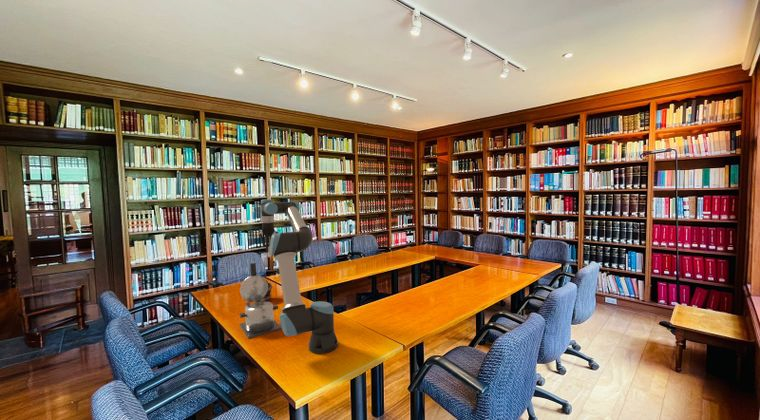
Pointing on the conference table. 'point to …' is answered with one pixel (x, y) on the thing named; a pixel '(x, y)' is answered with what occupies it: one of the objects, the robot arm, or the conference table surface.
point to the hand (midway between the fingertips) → (269, 256)
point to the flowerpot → (267, 293)
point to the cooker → (259, 319)
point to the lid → (253, 286)
